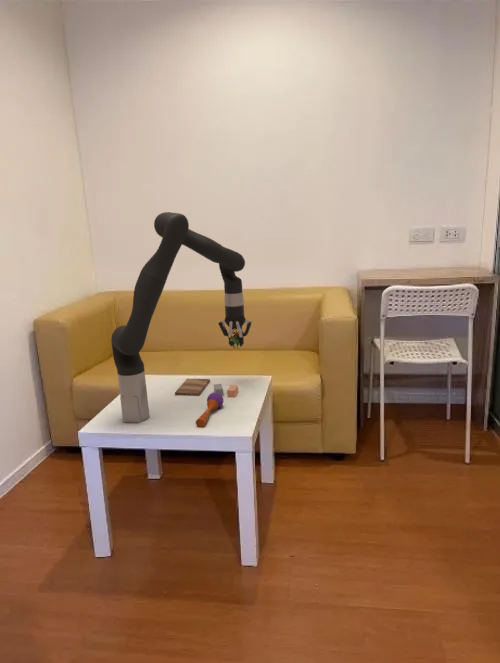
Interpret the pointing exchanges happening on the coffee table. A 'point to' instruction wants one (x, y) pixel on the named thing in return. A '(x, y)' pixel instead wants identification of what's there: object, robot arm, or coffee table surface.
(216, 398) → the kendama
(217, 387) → the slate-grey brick
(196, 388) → the walnut board
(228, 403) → the coffee table surface
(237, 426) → the coffee table surface
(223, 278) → the robot arm
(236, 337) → the figurine
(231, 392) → the terracotta brick
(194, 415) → the coffee table surface
